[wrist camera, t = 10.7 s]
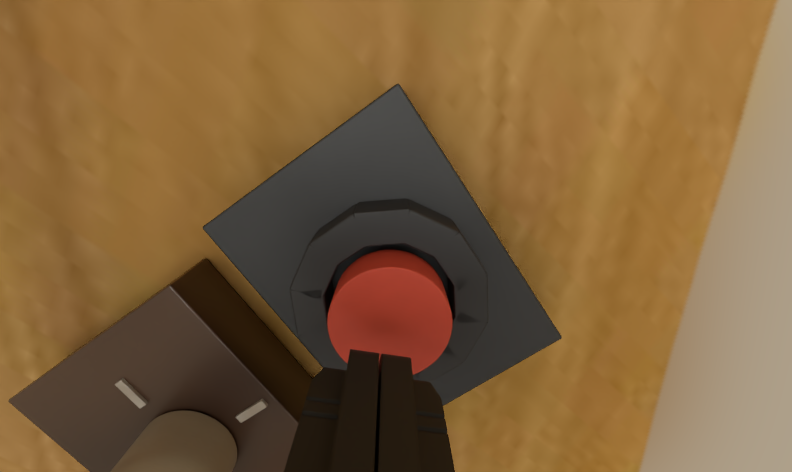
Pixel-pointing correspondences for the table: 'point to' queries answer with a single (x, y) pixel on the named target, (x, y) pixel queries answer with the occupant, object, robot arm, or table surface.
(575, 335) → the table surface
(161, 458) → the lock dial
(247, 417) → the dial panel
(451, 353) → the button housing
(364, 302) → the red push button
